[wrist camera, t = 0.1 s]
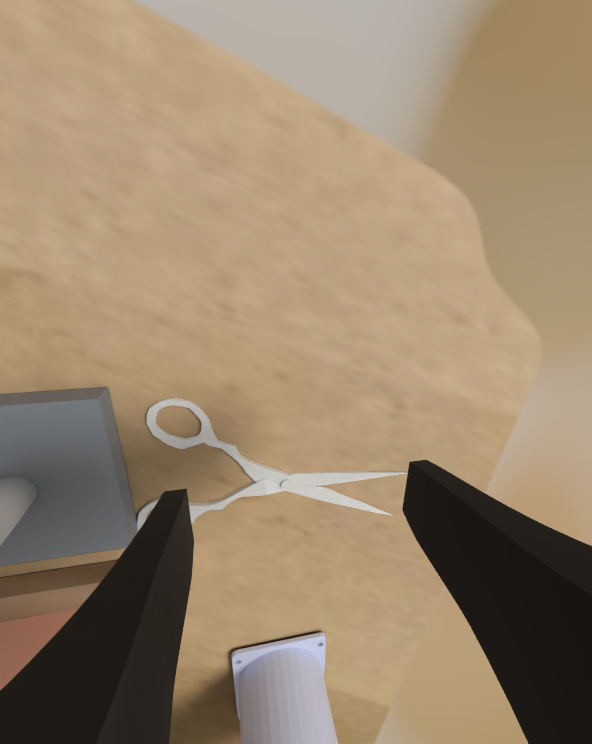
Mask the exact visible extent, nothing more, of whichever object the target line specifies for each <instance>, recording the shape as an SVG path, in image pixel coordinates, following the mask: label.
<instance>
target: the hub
mask: <svg viewBox="0 0 592 744" xmlns="http://www.w3.org/2000/svg"><path fill="white" fill-rule="evenodd" d="M137 531H138V528H137V518H136V513H135V509H134V504H133V499H132V495H131V490H130V486H129V481H128V477H127V472H126V467H125V463H124V458H123V454H122V449H121V444H120V440H119V435H118V431H117V426H116V422H115V417H114V412H113V408H112V403H111V399H110V394H109V389H108V387H101V388H86V389H72V390H57V391H42V392H27V393H13V394H0V566H5V565H12V564H19V563H26V562H33V561H39V560H46V559H53V558H60V557H66V556H73V555H80V554H87V553H94V552H100V551H107V550H114V549H121V548H127V547H128V545H129V544H130V542H131V541H132V540H133V538H134V537H135V535H136V534H137Z"/></svg>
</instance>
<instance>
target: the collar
mask: <svg viewBox="0 0 592 744" xmlns="http://www.w3.org/2000/svg"><path fill="white" fill-rule="evenodd" d="M77 610H78V609H76V610H70V611H64V612H58V613H53V614H47V615H41V616H35V617H30V618H24V619H18V620H12V621H7V622H1V623H0V690H1V689H2V688H3V687H4V686H5V685H7V684H8V683H9V682H10V681H11V680H12V679H13V678H14V677H15V676H16V675H17V674H18V673H19V672H20V671H21V670H22V669H23V668H24V667H25V666H26V665H27V664H28V663H29V662H30V660H31V659H32V658H33V657H34V656H35V655H36V654H37V653H38V652H39V651H40V650H41V649H42V648H43V647H44V646H45V645H46V644H47V643H48V642H49V640H50V639H51V638H52V637H53V636H54V635H55V634H56V633H57V632H58V631H59V630H60V629H61V628H62V627H63V626H64V624H65V623H66V622H67V621H68V620H69V619H70V618H71V617H72V615H73V614H74V613H75V612H76V611H77Z"/></svg>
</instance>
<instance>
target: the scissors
mask: <svg viewBox="0 0 592 744" xmlns="http://www.w3.org/2000/svg"><path fill="white" fill-rule="evenodd" d="M170 405H176V406H182V407H187V408H190V409H191V410H192V411H193V412H194V414H195V415H196V416H197V417H198V418H199V419H200V421H201V423H202V426H201V431H200V432H199V433H198V434H197V435H195V436H191V437H188V438H183V437H178V436H175V435H171V434H168V433H166V432H165V431H164V430H162V429H161V428H160V427H159V426H158V425H157V424H156V416H157V413H158V411H159V410H160V409H162V408H163V407H166V406H170ZM147 425H148V427H149V429H150V431H151V432H152V434H153V436H155V437H156V438H158V439H159V440H161V441H162V442H164V443H166V444H167V445H170V446H172V447H175V448H178V449H181V450H182V449H185V448H188V447H191V446H195V445H198V444H201V443H205V444H207V445H208V446H212V447H216V448H221V449H223V450H224V451H225V452H227V453H228V454H229V455H230V456H232V457H233V458H234V459H235V460H236V461H237V462H238V463H239V464H240V465H241V466H242V467H243V469H244V470H245V472H246V473H247V474H248V475H249V476H250V477H251V478H252V479H253V480H254V481H253V482H251V483H249V484H247V485H245V486H243V487H242V488H240V489H238V490H236V491H234V492H233V493H231V494H229V495H227V496H225V497H223V498H221V499H219V500H215V501H212V502H209V503H199V502H189V501H188V502H189V509H190V517H191V524H193V522H194V521H195V519H196V518H197V517H198V516H199V515H201V514H203V513H204V512H206V511H208V510H222V509H223V508H224V507H225V506H226V505H227V504H228V503H229V502H231V501H233V500H235V499H237V498H239V497H244V496H260V495H269V494H273V493H277V492H282V491H288V492H292V493H296V494H299V495H303V496H307V497H310V498H314V499H318V500H321V501H326V502H330V503H334V504H338V505H343V506H348V507H353V508H357V509H361V510H366V511H370V512H374V513H380V514H387V515H392V514H389V513H387V512H384V511H382V510H380V509H377V508H375V507H372V506H370V505H367V504H365V503H363V502H360V501H358V500H355V499H352V498H350V497H347V496H344V495H342V494H339V493H337V492H335V491H332V490H330V489H327V488H323V487H315V486H321V485H329V484H336V483H344V482H351V481H358V480H364V479H371V478H378V477H384V476H391V475H397V474H404V473H408V472H311V473H289V474H288V473H285V472H283V471H280V470H276V469H273V468H270V467H267V466H263V465H261V464H258V463H256V462H254V461H251V460H248V459H245V458H244V457H243V456H242V455H241V454H240V453H239V452H238V449H237V447H236V445H235V444H231V443H227V442H223V441H219V440H218V439H217V438H216V436H215V434H214V432H213V430H212V427H211V424H210V420H209V418H208V417H207V415H206V414H205V413H204V412H203V411H202V410H201V409H200V408H199V407H198V406H197V405H196V404H194V403H192V402H190V401H188V400H185V399H179V398H165V399H163V400H161V401H158V402H156V403H155V404H153V405H152V406H151V407H150V408H149V410H148V412H147ZM159 499H160V497H158V498H156V499H154V500H152V501H150V502H149V503H147V504H146V505H145V506H143V507H142V509H141V511H140V512H139V515H138V521H137V528H138V531H139V530H140V528H141V527H142V525H143V524H144V522H145V521H146V515H147V513H148V512H149V511H150V510H152V509H153V508H154V507H155V505H156V504H157V502H158V500H159Z"/></svg>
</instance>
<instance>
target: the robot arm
mask: <svg viewBox="0 0 592 744" xmlns="http://www.w3.org/2000/svg"><path fill="white" fill-rule="evenodd" d="M402 510H403V512H404V515H405V517H406V519H407V521H408V523H409V526H410V528H411V530H412V532H413V534H414V536H415V538H416V540H417V541H418V543H419V545H420V546H421V548H422V549H423V551H424V553H425V554H426V556H427V557H428V559H429V561H430V562H431V564H432V565H433V567H434V568H435V570H436V572H437V573H438V575H439V576H440V578H441V579H442V581H443V582H444V584H445V586H446V587H447V589H448V590H449V592H450V593H451V595H452V597H453V598H454V600H455V601H456V603H457V604H458V606H459V608H460V609H461V611H462V613H463V614H464V616H465V618H466V619H467V621H468V623H469V625H470V626H471V628H472V630H473V632H474V634H475V636H476V638H477V640H478V642H479V643H480V645H481V647H482V649H483V651H484V653H485V655H486V657H487V659H488V660H489V663H490V665H491V667H492V669H493V671H494V673H495V675H496V677H497V679H498V681H499V682H500V685H501V687H502V689H503V691H504V693H505V695H506V697H507V699H508V701H509V703H510V705H511V707H512V709H513V711H514V713H515V716H516V718H517V719H518V722H519V724H520V726H521V729H522V730H523V733H524V735H525V737H526V739H527V741H528V744H592V546H590V545H587V544H585V543H583V542H580V541H578V540H576V539H573V538H571V537H569V536H567V535H565V534H563V533H560V532H558V531H556V530H554V529H552V528H549V527H547V526H545V525H543V524H541V523H539V522H537V521H535V520H533V519H531V518H529V517H527V516H525V515H523V514H521V513H520V512H518V511H516V510H514V509H512V508H510V507H508V506H506V505H504V504H503V503H501V502H499V501H497V500H495V499H494V498H492V497H490V496H488V495H487V494H485V493H483V492H481V491H480V490H478V489H476V488H475V487H473V486H471V485H469V484H468V483H466V482H464V481H463V480H461V479H459V478H458V477H456V476H454V475H453V474H451V473H449V472H447V471H446V470H444V469H442V468H441V467H439V466H437V465H435V464H433V463H431V462H429V461H428V460H421V461H413V462H410V463H409V469H408V476H407V483H406V489H405V496H404V503H403V509H402ZM193 548H194V538H193V531H192V524H191V517H190V509H189V502H188V495H187V489H181V490H173V491H165V492H164V493H163V494H162V495H161V497H160V499H159V500H158V502H157V504H156V505H155V507H154V508H153V510H152V512H151V513H150V515H149V516H148V518H147V519H146V521H145V522H144V524H143V525H142V527H141V528H140V530H139V531H138V533H137V534H136V535H135V537H134V538H133V540H132V541H131V542H130V544H129V545H128V547H127V548H126V550H125V551H124V552H123V554H122V555H121V556H120V558H119V559H118V560H117V562H116V563H115V564H114V565H113V567H112V568H111V569H110V571H109V572H108V573H107V574H106V576H105V577H104V578H103V580H102V581H101V582H100V583H99V585H98V586H97V587H96V588H95V590H94V591H93V592H92V593H91V594H90V596H89V597H88V598H87V599H86V600H85V602H84V603H83V604H82V605H81V606H80V607H79V609H78V610H77V611H76V612H75V613H74V614H73V615H72V617H71V618H70V619H69V620H68V621H67V622H66V623H65V624H64V626H63V627H62V628H61V629H60V630H59V631H58V632H57V633H56V634H55V635H54V636H53V637H52V638H51V639H50V640H49V642H48V643H47V644H46V645H45V646H44V647H43V648H42V649H41V650H40V651H39V652H38V653H37V654H36V655H35V656H34V657H33V658H32V659H31V660H30V662H29V663H28V664H27V665H26V666H25V667H24V668H23V669H22V670H21V671H20V672H19V673H18V674H17V675H16V676H15V677H14V678H13V679H12V680H11V681H10V682H9V683H8V684H7V685H5V686H4V687H3V688H2V689H1V690H0V744H169V736H170V725H171V713H172V702H173V691H174V683H175V675H176V668H177V662H178V656H179V650H180V644H181V638H182V632H183V626H184V620H185V614H186V608H187V602H188V596H189V590H190V584H191V578H192V565H193ZM325 647H326V637H325V634H324V633H322V632H320V633H315V634H310V635H305V636H301V637H296V638H291V639H286V640H281V641H277V642H272V643H267V644H262V645H258V646H253V647H248V648H243V649H238V650H235V651H234V652H233V653H232V668H233V677H234V687H235V696H236V705H237V714H238V719H240V740H241V744H338V741H337V736H336V732H335V727H334V723H333V718H332V714H331V709H330V705H329V700H328V696H327V691H326V687H325V682H324V666H325Z"/></svg>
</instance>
